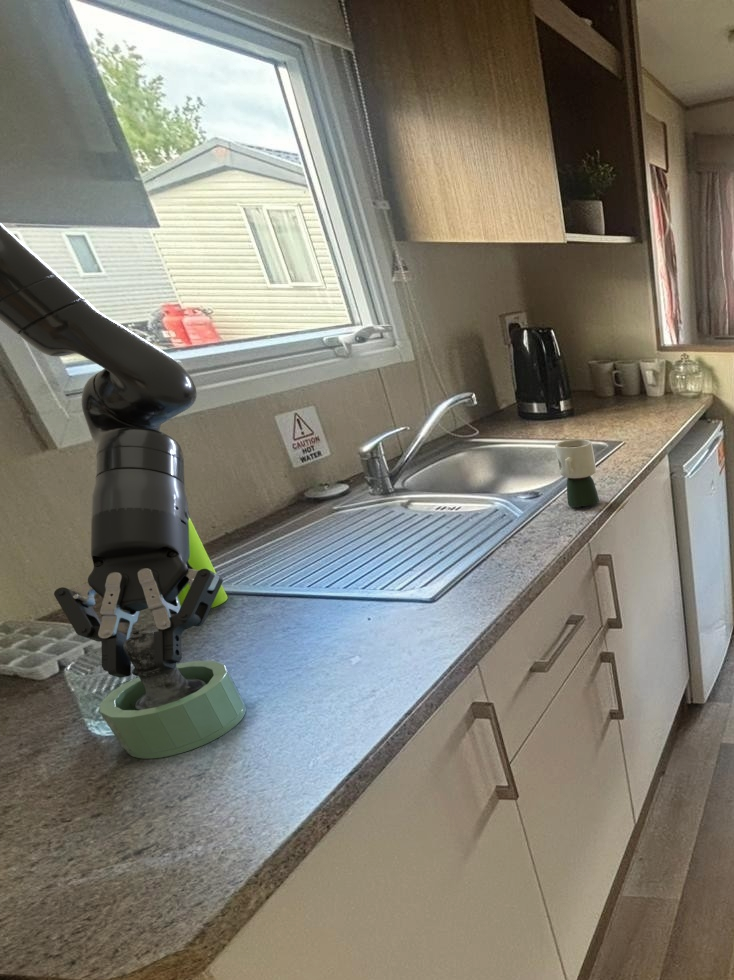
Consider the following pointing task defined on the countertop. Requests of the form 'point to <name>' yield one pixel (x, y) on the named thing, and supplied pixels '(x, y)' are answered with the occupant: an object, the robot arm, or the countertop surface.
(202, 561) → the soap dispenser
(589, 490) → the character mug
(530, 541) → the countertop surface
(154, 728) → the holder
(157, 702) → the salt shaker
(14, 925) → the countertop surface
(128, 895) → the countertop surface
